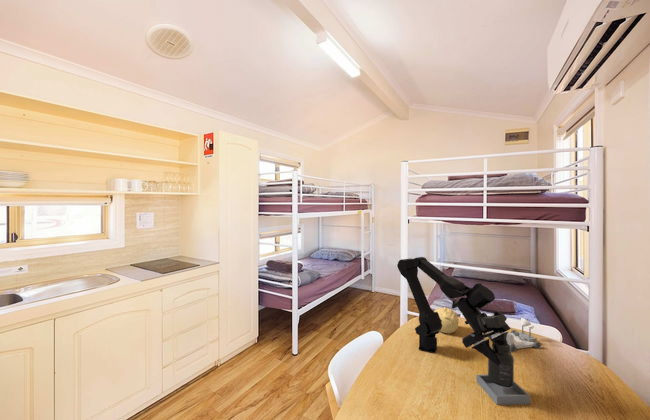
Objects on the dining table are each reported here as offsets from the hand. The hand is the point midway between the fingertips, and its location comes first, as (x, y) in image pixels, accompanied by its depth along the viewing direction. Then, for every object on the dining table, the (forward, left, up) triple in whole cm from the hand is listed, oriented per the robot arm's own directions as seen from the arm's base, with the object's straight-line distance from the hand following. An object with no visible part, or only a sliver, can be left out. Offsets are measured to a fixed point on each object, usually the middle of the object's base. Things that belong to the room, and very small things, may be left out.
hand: (505, 361), depth 81 cm
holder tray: (-1, +1, -10) cm, 11 cm away
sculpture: (-19, +39, -11) cm, 45 cm away
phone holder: (+9, +40, -11) cm, 43 cm away
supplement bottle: (-1, 0, -7) cm, 7 cm away
